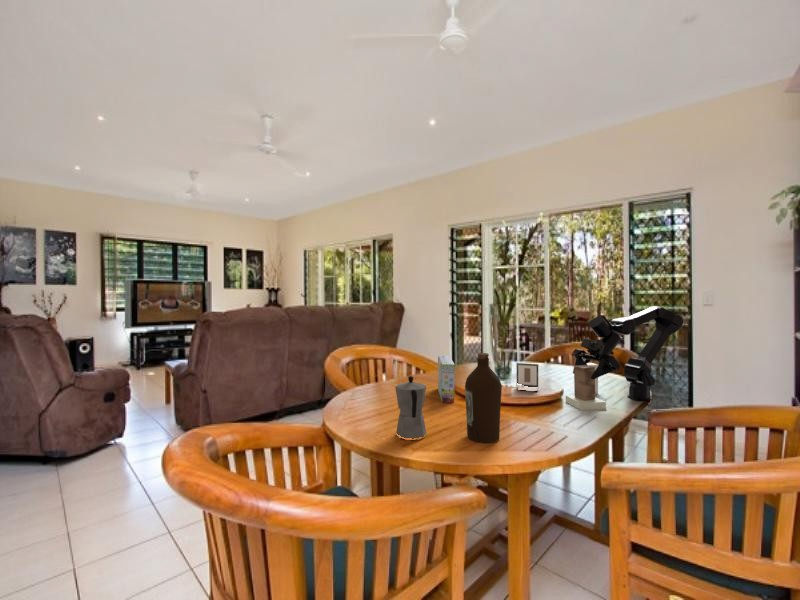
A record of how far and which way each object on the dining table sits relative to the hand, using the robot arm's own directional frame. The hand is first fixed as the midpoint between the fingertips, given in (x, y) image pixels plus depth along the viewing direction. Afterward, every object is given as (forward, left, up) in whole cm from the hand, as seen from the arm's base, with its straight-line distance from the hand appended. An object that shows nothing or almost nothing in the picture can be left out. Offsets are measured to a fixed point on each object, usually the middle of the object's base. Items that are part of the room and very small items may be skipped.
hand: (582, 376), depth 146 cm
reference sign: (+11, -24, -11) cm, 29 cm away
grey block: (-13, -17, -11) cm, 24 cm away
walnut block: (-1, -1, -9) cm, 9 cm away
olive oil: (+47, +26, -11) cm, 54 cm away
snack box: (+48, -20, -11) cm, 53 cm away
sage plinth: (-1, 0, -12) cm, 12 cm away
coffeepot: (+68, +23, -11) cm, 72 cm away
